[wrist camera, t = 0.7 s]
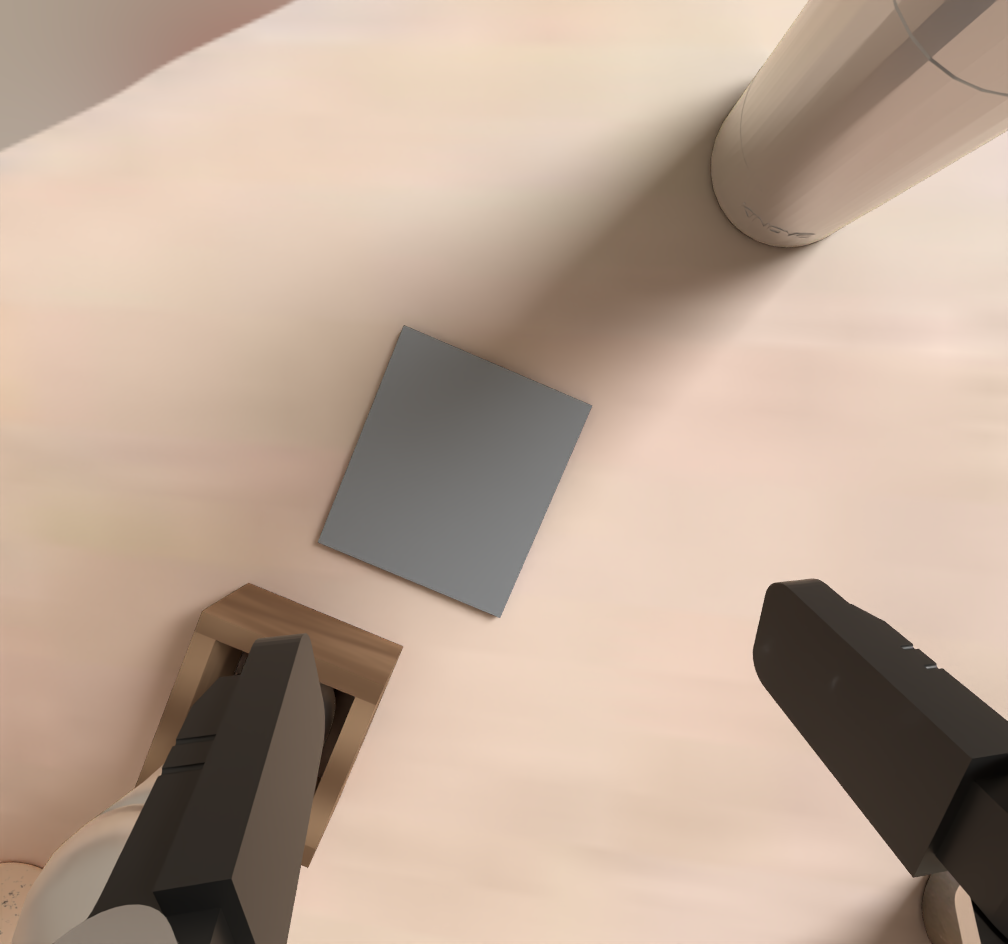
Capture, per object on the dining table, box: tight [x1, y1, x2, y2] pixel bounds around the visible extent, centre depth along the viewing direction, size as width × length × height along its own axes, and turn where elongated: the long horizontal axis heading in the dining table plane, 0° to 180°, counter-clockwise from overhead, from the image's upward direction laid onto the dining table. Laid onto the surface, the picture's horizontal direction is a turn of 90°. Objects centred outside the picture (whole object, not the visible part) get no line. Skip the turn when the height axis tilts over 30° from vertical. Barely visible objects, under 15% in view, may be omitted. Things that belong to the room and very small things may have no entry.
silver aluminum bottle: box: [11, 682, 336, 944], centre depth 24 cm, size 6×7×20 cm
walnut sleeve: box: [135, 583, 403, 868], centre depth 31 cm, size 11×10×5 cm
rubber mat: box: [318, 325, 592, 618], centre depth 32 cm, size 14×12×1 cm
